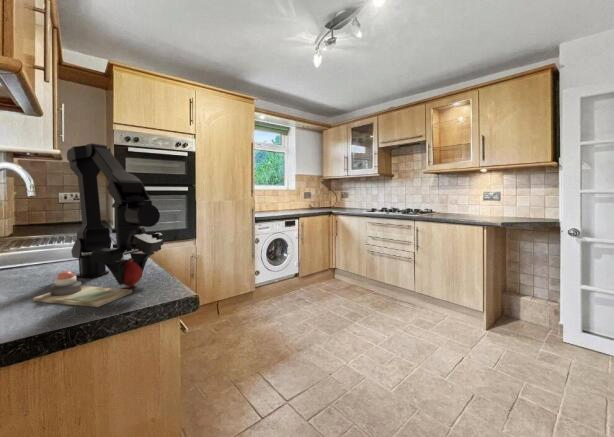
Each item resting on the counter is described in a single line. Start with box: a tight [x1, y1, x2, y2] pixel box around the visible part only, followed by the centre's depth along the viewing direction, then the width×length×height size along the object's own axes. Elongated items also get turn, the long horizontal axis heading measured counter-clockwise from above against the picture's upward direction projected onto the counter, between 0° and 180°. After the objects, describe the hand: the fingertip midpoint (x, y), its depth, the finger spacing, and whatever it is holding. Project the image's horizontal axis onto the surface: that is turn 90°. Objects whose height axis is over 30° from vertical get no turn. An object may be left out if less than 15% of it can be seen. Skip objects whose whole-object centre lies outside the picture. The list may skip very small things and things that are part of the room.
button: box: [54, 270, 78, 287], centre depth 73 cm, size 4×4×3 cm
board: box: [32, 280, 133, 308], centre depth 73 cm, size 18×10×3 cm, turn 79°
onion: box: [123, 257, 144, 288], centre depth 80 cm, size 6×6×8 cm
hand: (130, 281), depth 80 cm, fingers closed on onion, 6 cm apart
